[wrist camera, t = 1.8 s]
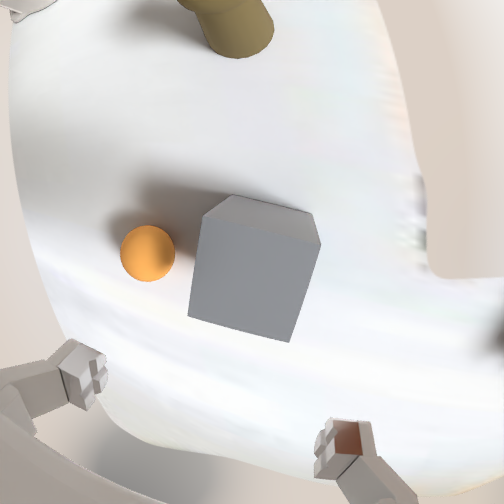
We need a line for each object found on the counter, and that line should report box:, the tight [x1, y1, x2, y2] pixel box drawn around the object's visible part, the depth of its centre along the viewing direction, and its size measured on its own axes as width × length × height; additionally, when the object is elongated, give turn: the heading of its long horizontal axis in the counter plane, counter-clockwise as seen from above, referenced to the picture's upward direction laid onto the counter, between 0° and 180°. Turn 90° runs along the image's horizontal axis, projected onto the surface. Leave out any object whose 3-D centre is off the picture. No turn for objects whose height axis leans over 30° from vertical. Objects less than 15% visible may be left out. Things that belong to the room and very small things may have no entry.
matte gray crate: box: [188, 194, 321, 343], centre depth 22 cm, size 7×7×9 cm
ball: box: [120, 225, 175, 282], centre depth 26 cm, size 5×5×5 cm
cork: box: [177, 0, 274, 59], centre depth 15 cm, size 6×6×11 cm
